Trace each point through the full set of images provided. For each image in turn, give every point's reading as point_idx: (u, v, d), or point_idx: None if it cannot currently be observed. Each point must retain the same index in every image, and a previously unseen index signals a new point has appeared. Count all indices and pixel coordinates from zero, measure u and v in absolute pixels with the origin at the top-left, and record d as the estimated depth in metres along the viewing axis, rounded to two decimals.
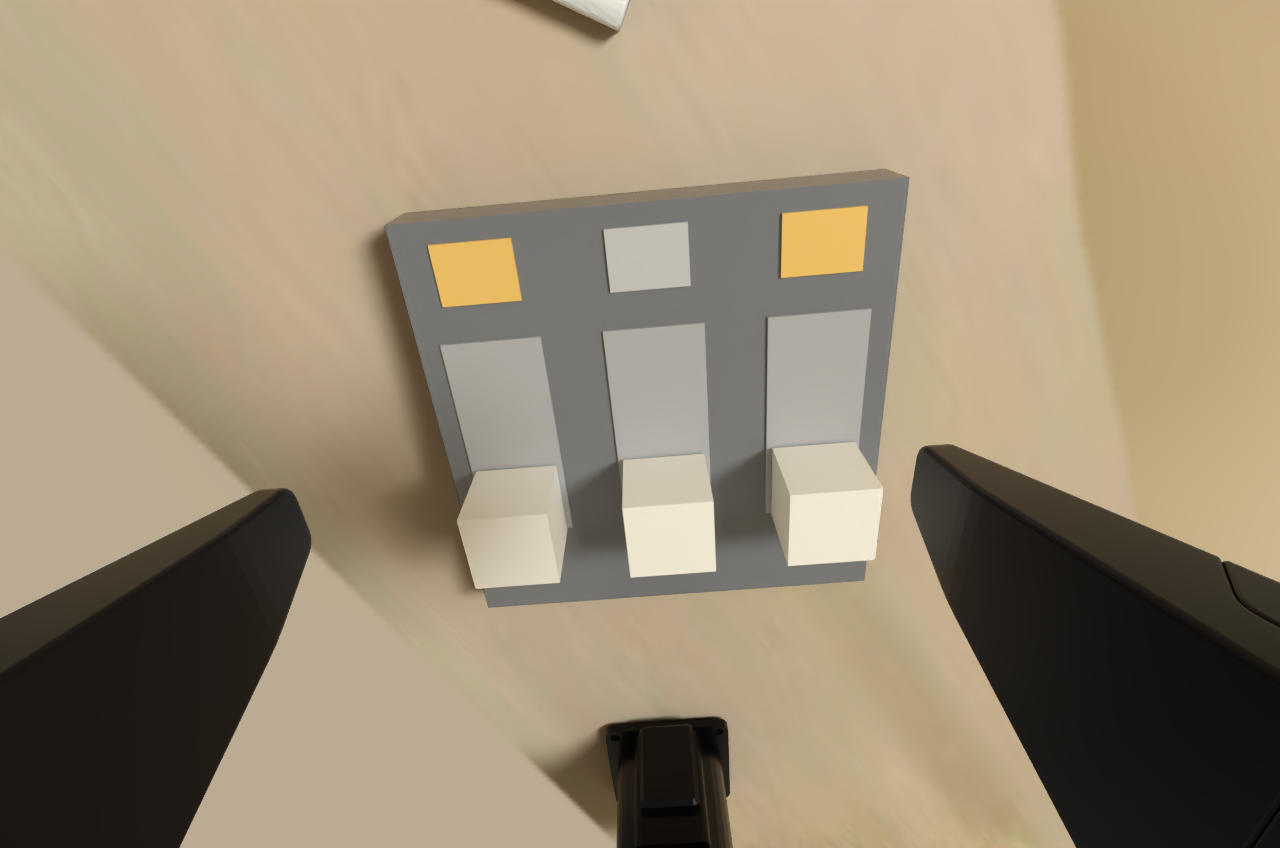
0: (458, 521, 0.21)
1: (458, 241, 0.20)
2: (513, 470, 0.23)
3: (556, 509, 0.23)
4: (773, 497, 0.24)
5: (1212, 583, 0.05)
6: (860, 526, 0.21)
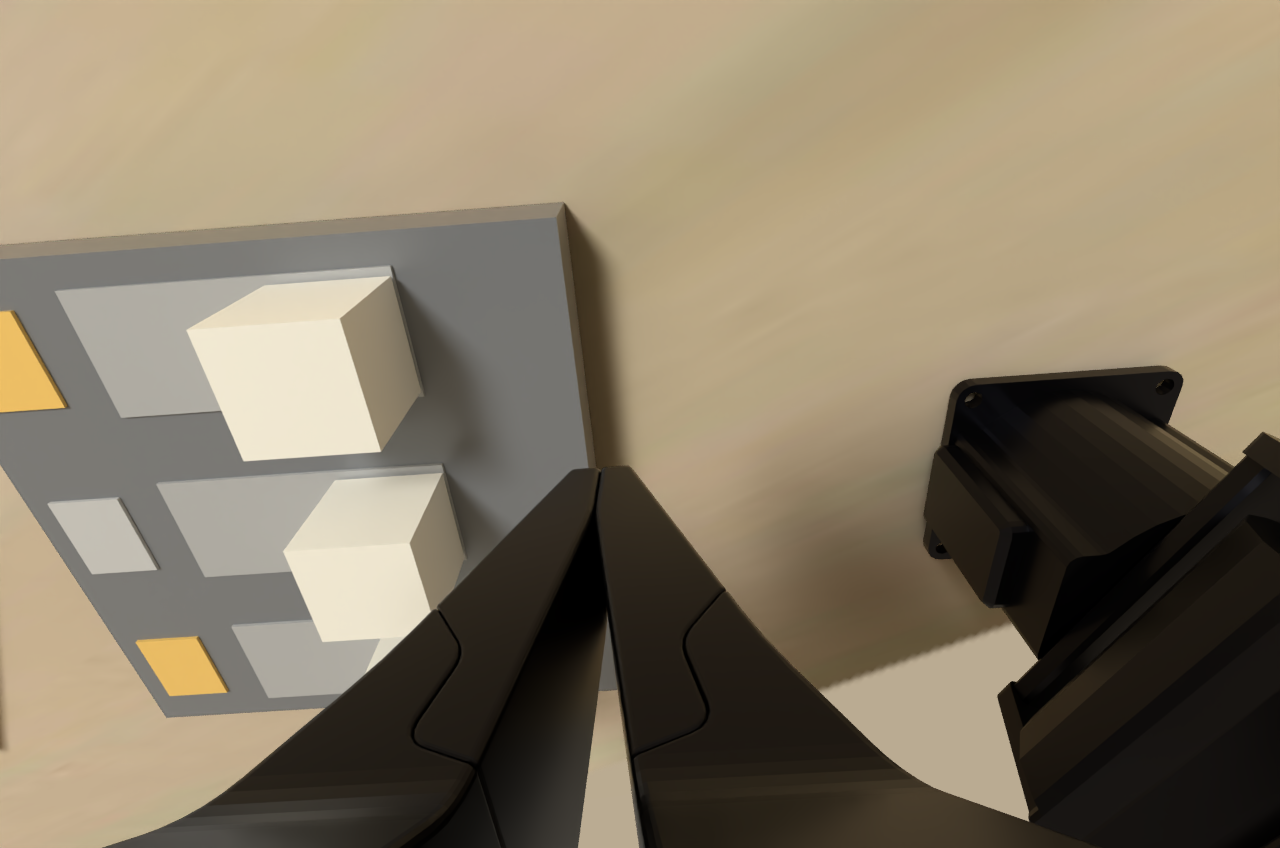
0: None
1: (159, 675, 0.21)
2: None
3: None
4: None
5: (683, 615, 0.05)
6: (273, 354, 0.12)
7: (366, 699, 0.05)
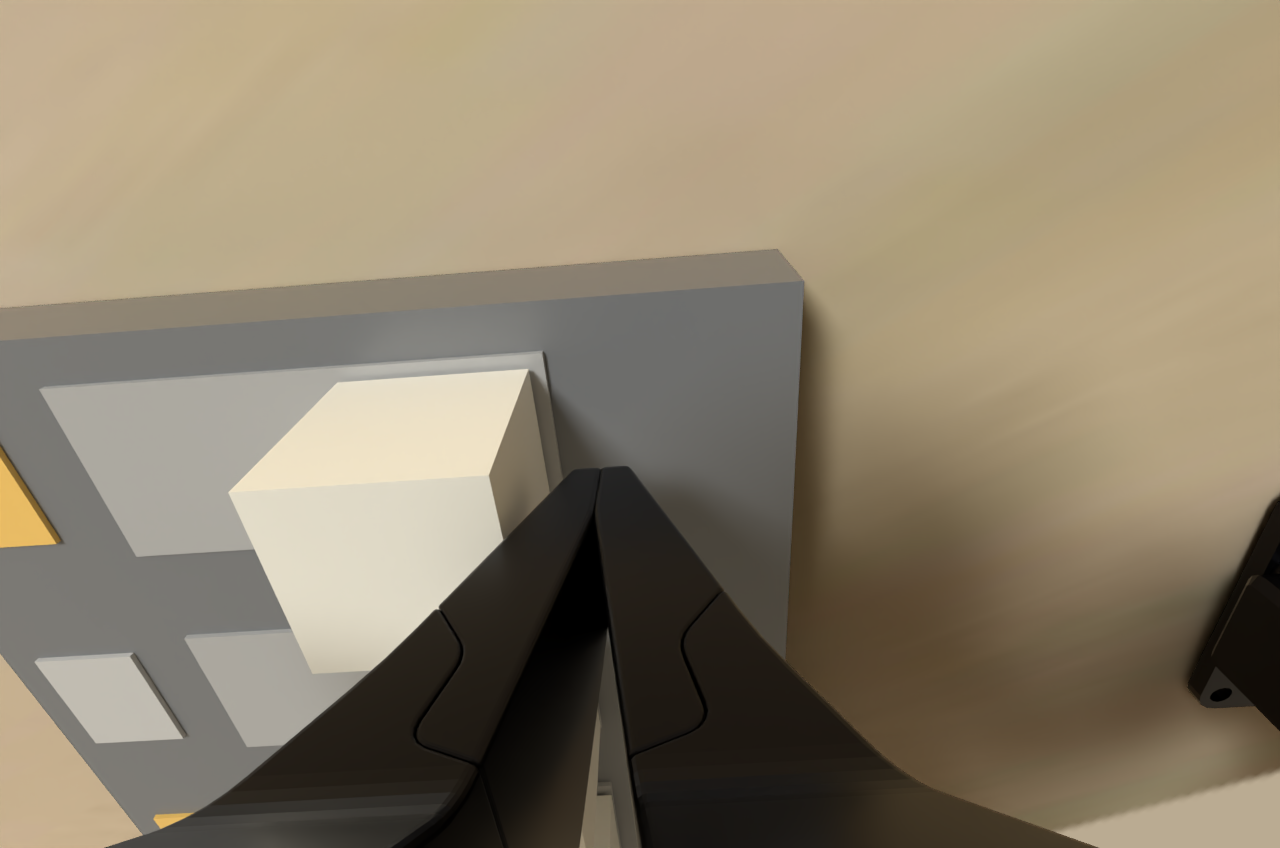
0: None
1: None
2: None
3: None
4: None
5: (682, 615, 0.05)
6: (372, 528, 0.07)
7: (368, 699, 0.05)
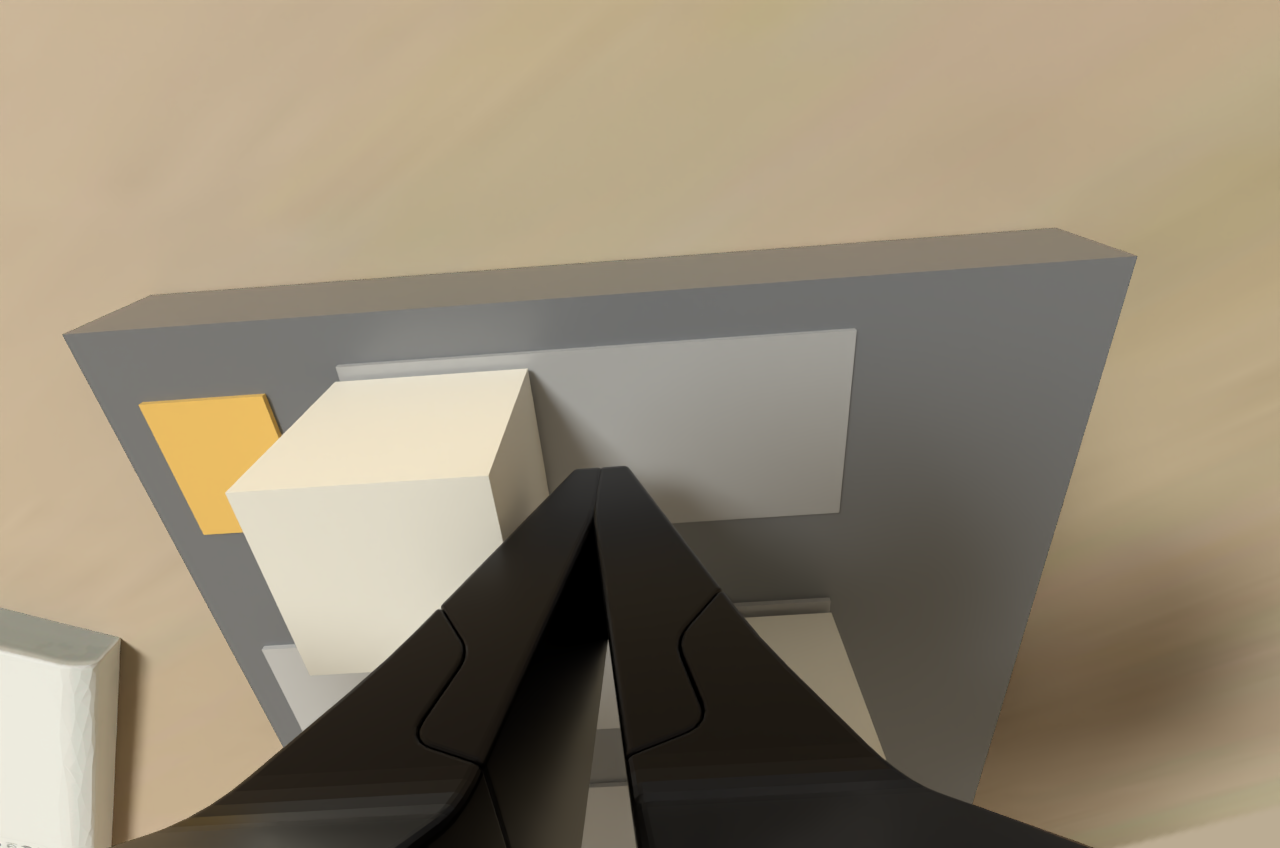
0: None
1: None
2: None
3: None
4: None
5: (679, 615, 0.05)
6: (370, 529, 0.07)
7: (371, 698, 0.05)
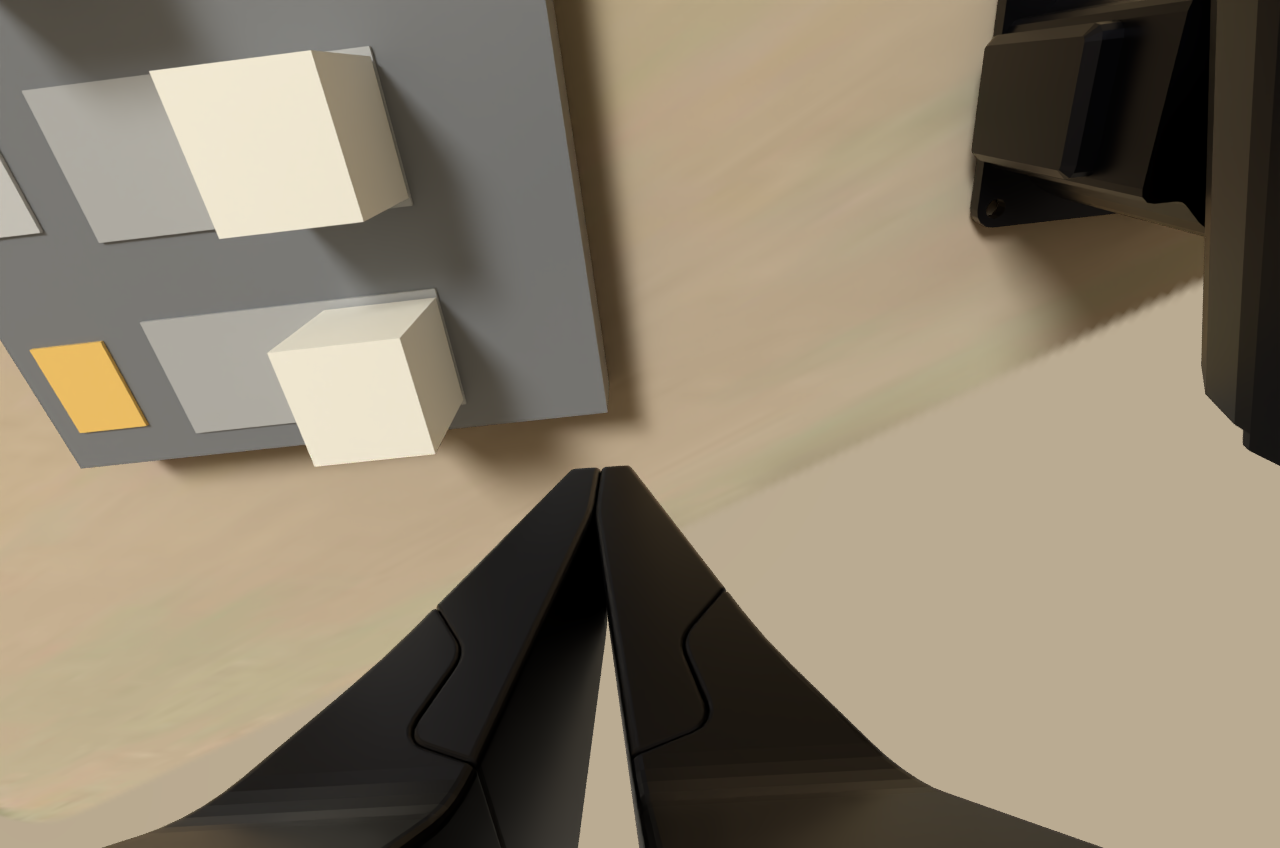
0: (321, 463, 0.16)
1: (64, 402, 0.18)
2: None
3: (342, 322, 0.15)
4: None
5: (683, 615, 0.05)
6: None
7: (366, 699, 0.05)
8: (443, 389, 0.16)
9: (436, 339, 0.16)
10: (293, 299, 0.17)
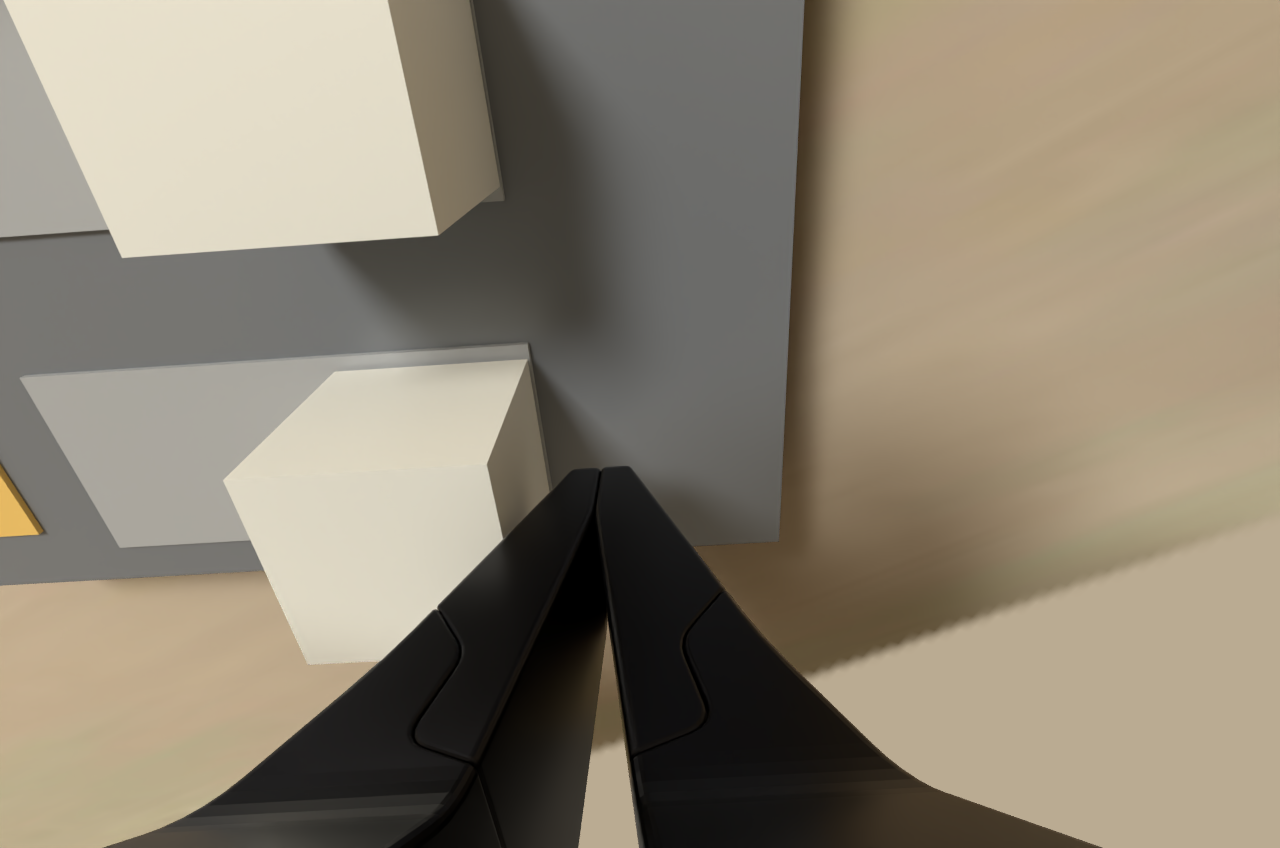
0: (320, 656, 0.09)
1: None
2: None
3: (368, 407, 0.09)
4: None
5: (683, 615, 0.05)
6: None
7: (366, 699, 0.05)
8: None
9: (528, 432, 0.09)
10: (284, 351, 0.10)
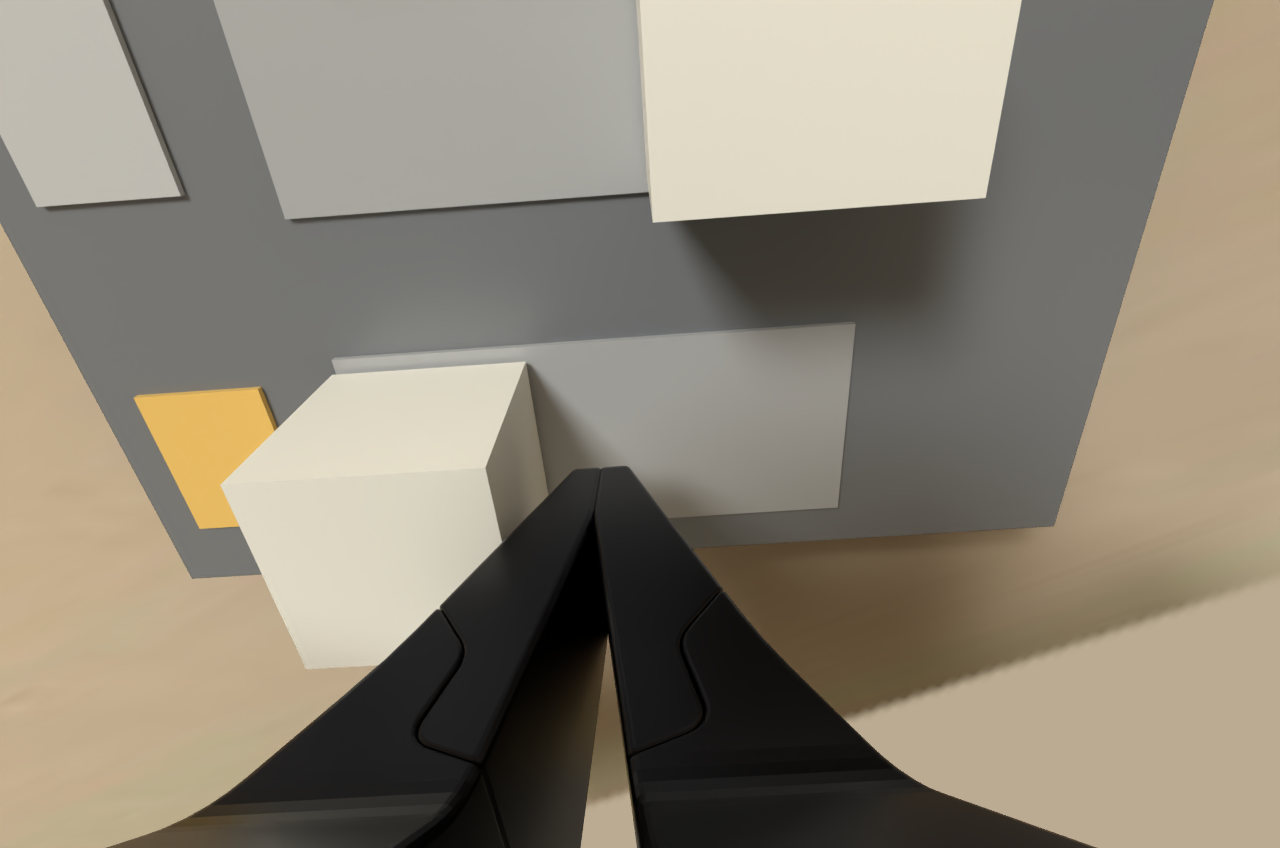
0: (318, 661, 0.09)
1: (180, 482, 0.11)
2: None
3: (366, 410, 0.09)
4: None
5: (680, 615, 0.05)
6: None
7: (370, 699, 0.05)
8: None
9: (527, 435, 0.09)
10: (604, 331, 0.10)
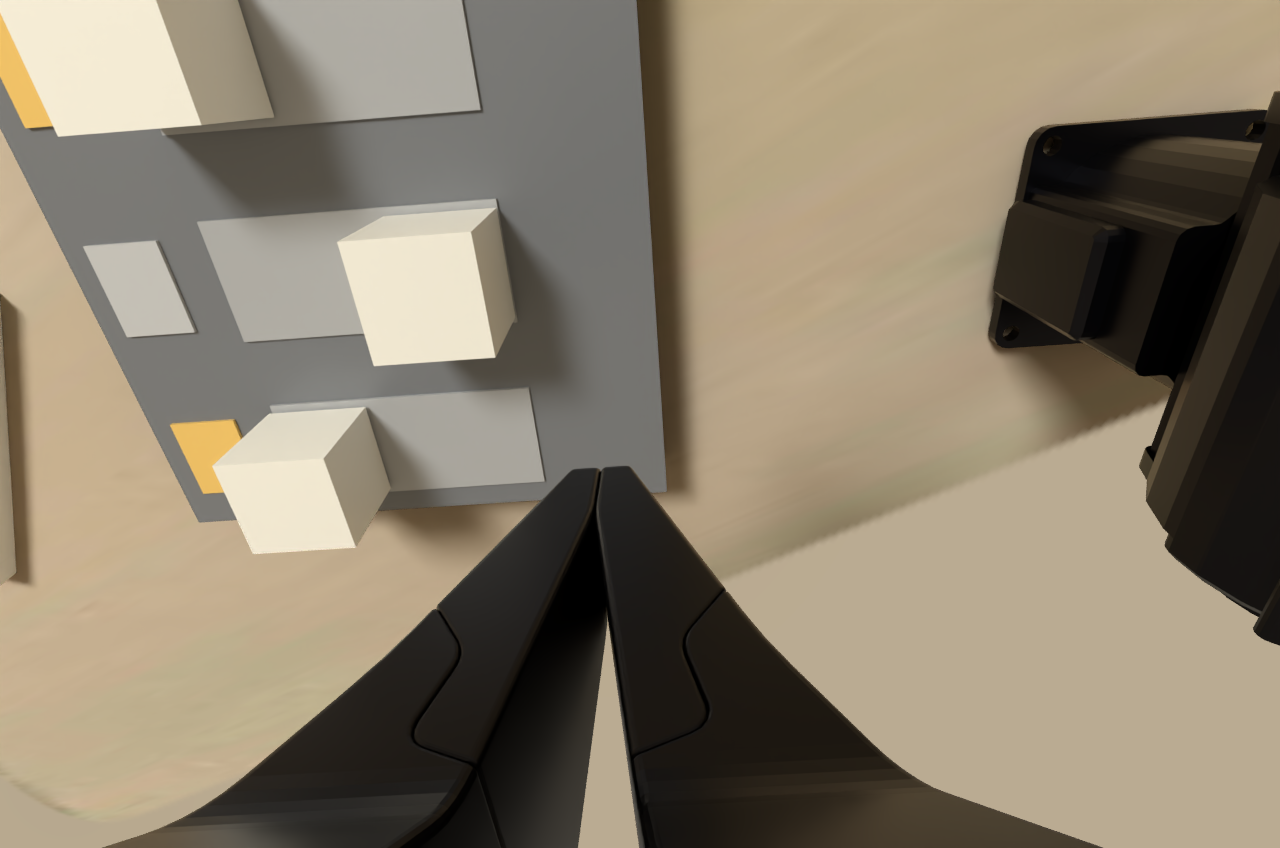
0: (259, 550, 0.18)
1: (193, 468, 0.21)
2: None
3: (280, 432, 0.18)
4: None
5: (683, 615, 0.05)
6: None
7: (365, 699, 0.05)
8: (368, 486, 0.19)
9: (363, 443, 0.19)
10: (405, 392, 0.19)
